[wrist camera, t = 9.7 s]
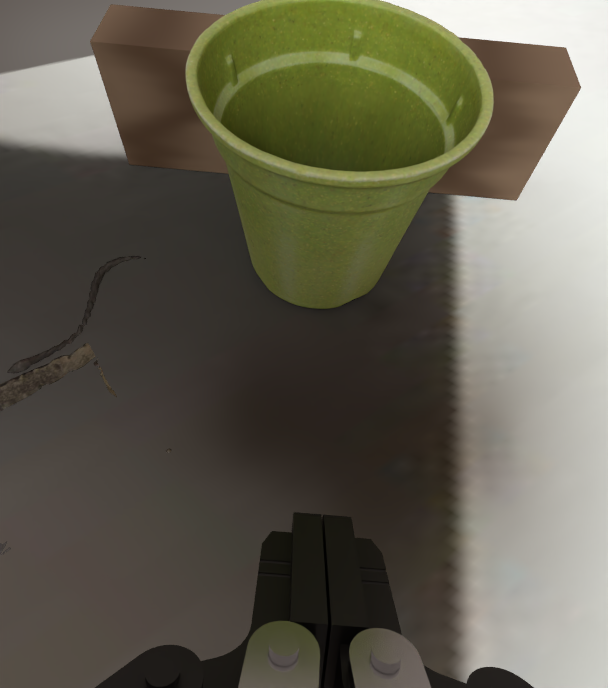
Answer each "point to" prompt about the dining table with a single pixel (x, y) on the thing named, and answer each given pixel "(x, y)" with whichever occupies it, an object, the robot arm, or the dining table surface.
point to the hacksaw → (51, 372)
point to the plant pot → (333, 132)
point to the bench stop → (202, 155)
